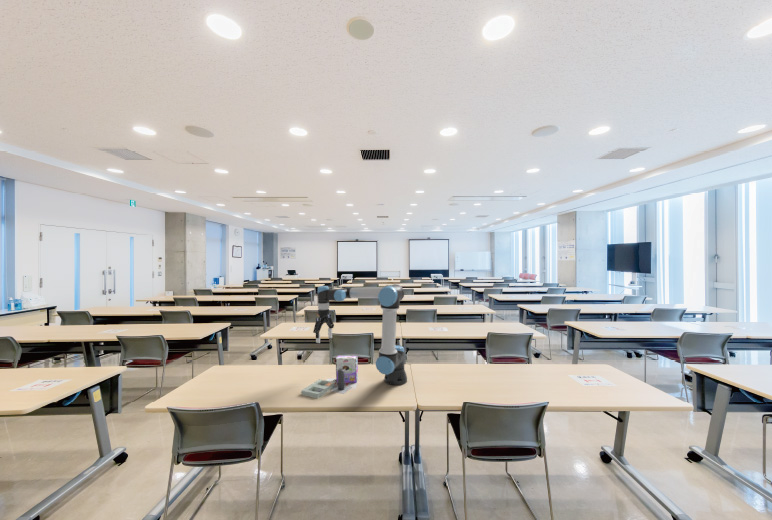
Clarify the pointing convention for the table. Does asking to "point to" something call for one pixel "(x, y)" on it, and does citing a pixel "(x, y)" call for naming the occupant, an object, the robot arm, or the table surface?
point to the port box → (318, 388)
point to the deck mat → (341, 390)
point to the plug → (341, 379)
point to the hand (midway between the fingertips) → (324, 340)
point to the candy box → (348, 368)
